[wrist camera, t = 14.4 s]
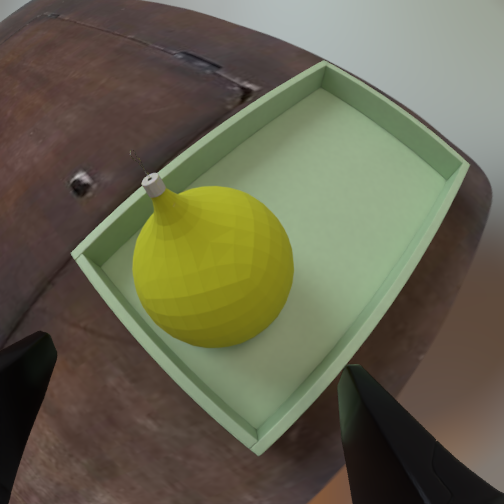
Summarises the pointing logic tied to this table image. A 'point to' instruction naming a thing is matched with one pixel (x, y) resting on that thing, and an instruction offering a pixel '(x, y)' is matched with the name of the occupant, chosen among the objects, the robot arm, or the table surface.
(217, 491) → the table surface
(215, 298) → the ornament
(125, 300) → the pale green tray
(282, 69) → the table surface
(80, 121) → the table surface
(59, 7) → the table surface
